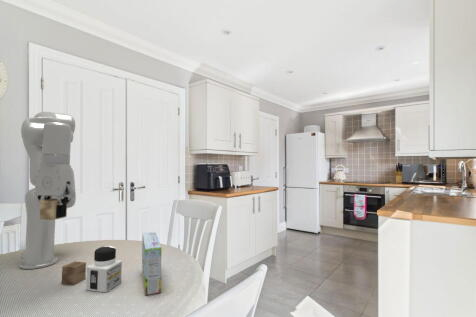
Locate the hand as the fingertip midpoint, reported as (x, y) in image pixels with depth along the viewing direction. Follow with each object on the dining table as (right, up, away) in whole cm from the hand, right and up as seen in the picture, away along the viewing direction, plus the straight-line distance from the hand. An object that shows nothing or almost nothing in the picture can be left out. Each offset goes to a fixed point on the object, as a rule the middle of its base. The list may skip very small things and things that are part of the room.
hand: (53, 215), depth 82 cm
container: (+14, -25, +4) cm, 29 cm away
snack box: (+28, -26, +9) cm, 39 cm away
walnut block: (+2, -25, +7) cm, 26 cm away
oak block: (0, -1, 0) cm, 1 cm away
